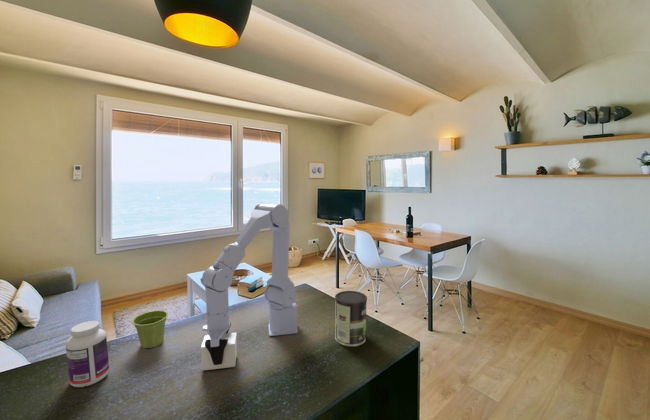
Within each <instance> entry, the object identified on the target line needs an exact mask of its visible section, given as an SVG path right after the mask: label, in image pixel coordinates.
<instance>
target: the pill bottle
mask: <svg viewBox="0 0 650 420" xmlns="http://www.w3.org/2000/svg"><path fill="white" fill-rule="evenodd" d="M70 335H71V336H70V337H69V338H68V339H67V340H66V342H65V351H66V352H65V353H66V359H67V360H66V361H67V369H68V370H67V371H68V380H69V384H70V385H71V386H72V387H75V388H85V386H86V387H88V386H89V387H90V386H91V385H94V384H96V383H98V382H100V381H101V380H102V379H104V378H105V377H106V376H107V375H108V374H109V371H110V362H109V361H110V360H109V350H108V340H107V338H108V337H107V332H106V331H105V330H104V329H102V328H100V322H99V321H97V320H89V321H84V322H80V323H78V324H75V325H74V326H72V328H71V329H70Z"/></svg>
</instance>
